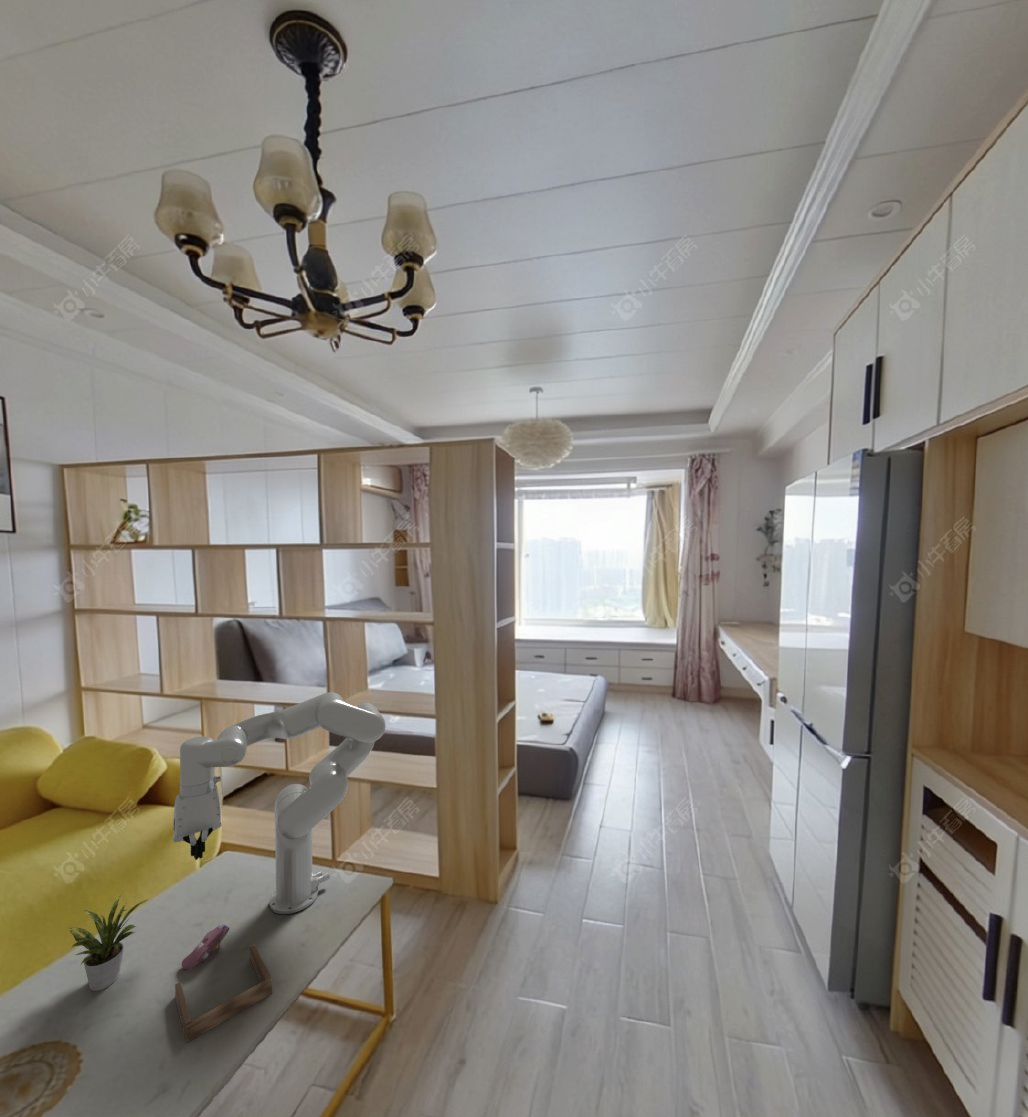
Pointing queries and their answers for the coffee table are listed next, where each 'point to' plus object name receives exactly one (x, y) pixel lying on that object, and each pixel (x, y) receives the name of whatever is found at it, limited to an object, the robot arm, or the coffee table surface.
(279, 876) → the robot arm
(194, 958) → the video game controller
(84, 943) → the house plant
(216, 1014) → the dock bay
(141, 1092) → the coffee table surface
